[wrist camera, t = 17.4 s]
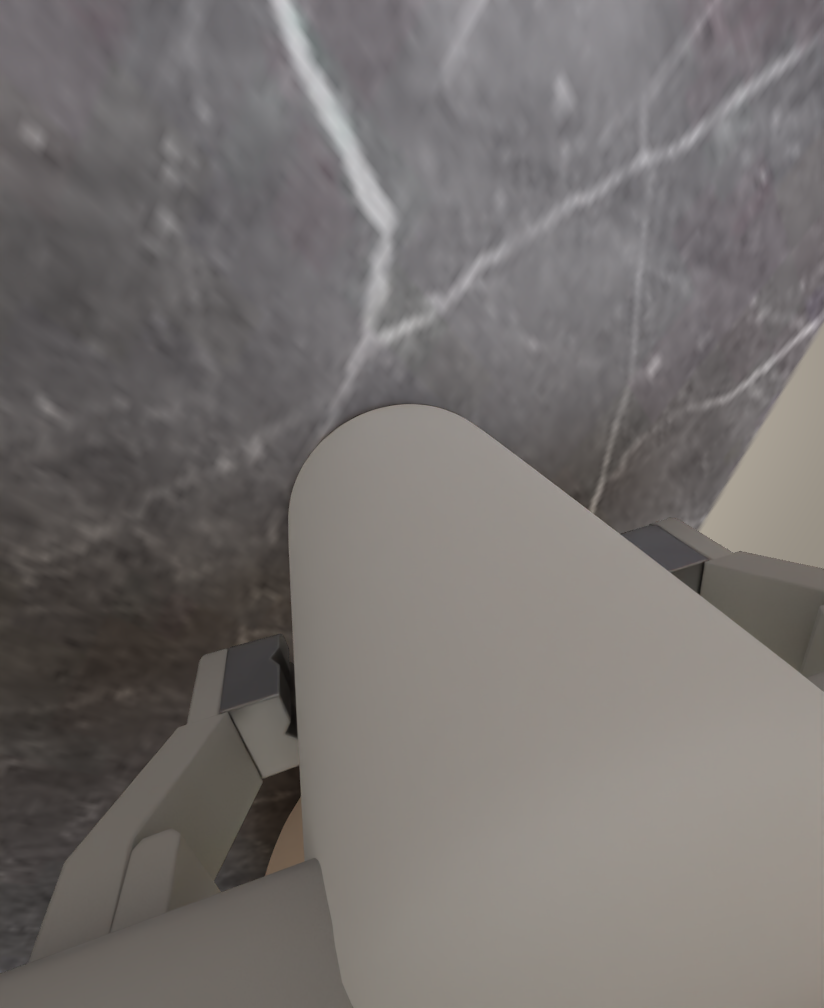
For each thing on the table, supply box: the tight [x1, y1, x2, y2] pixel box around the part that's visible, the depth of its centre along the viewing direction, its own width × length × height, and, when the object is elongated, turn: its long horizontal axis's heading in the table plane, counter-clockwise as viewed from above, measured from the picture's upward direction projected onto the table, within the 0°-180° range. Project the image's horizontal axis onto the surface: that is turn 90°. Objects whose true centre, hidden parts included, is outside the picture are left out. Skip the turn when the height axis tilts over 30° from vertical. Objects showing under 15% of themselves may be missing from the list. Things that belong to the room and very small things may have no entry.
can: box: [288, 404, 824, 1008], centre depth 9 cm, size 6×6×12 cm
